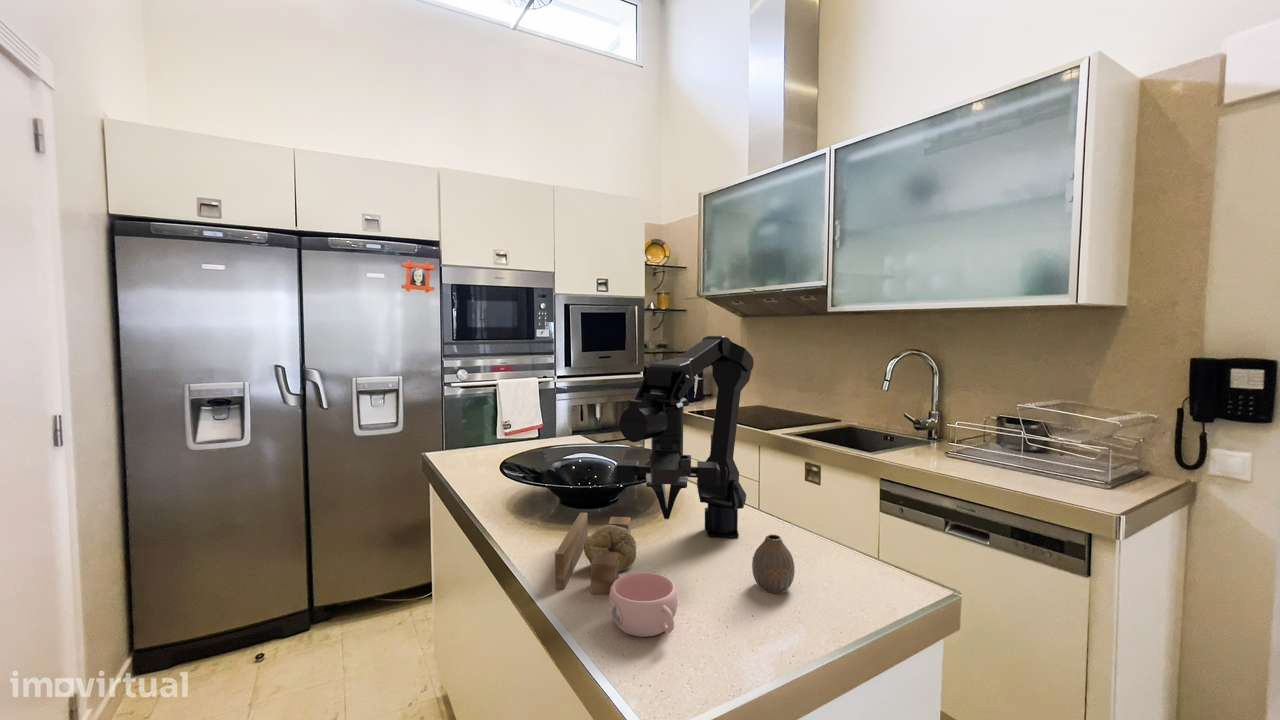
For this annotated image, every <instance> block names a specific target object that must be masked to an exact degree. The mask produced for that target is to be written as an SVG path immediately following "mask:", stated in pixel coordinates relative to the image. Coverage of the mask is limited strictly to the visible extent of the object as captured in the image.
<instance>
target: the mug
mask: <svg viewBox="0 0 1280 720" xmlns="http://www.w3.org/2000/svg"><path fill="white" fill-rule="evenodd" d="M608 596H609V597H608V601H609V603H608V604H609V605H608V606H609V610H610V615H611V616H612V619H613V621H614V623H615V625H616V626H617V627H618V628H619V629H620V630H621V631H622V632H623V633H625V634H627V635H630V636H634V637H641V638H644V637H646V638H647V637H654V636H657V635H660V634H661V633H666V634H670V633H672V632H673V630H674V629H675V620H674V618H675V616H676V614H677V613H676V612H677V608H678V601H679V600H678V591H677V587H676V585H675V583H674V582H673V581H672V580H671V579H670V578H668V577H667V576H665V575H663V574H660V573H656V572H649V571H648V572H647V571H636V572H631V573H626V574H624V575H621V576H620V577H619V578H618V579H617V580H616V581H615V582H614V583H613V584H612V586H611V589H610V594H609V595H608Z"/></svg>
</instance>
